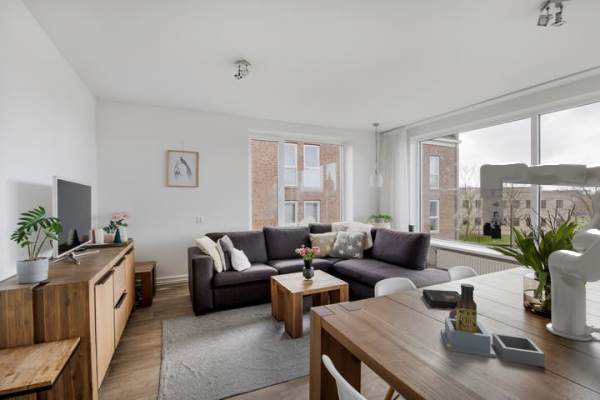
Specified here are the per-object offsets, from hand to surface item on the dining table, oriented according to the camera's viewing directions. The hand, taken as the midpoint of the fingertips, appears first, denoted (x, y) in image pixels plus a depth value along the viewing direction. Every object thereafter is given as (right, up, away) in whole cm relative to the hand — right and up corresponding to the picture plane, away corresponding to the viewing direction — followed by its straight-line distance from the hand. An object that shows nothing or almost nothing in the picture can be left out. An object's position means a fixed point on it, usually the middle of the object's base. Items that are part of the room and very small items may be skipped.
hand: (491, 237), depth 110 cm
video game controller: (-9, -37, +6) cm, 38 cm away
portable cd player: (-4, -37, +28) cm, 47 cm away
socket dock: (-18, -36, -12) cm, 42 cm away
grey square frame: (-5, -36, -19) cm, 41 cm away
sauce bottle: (-18, -36, -12) cm, 41 cm away
